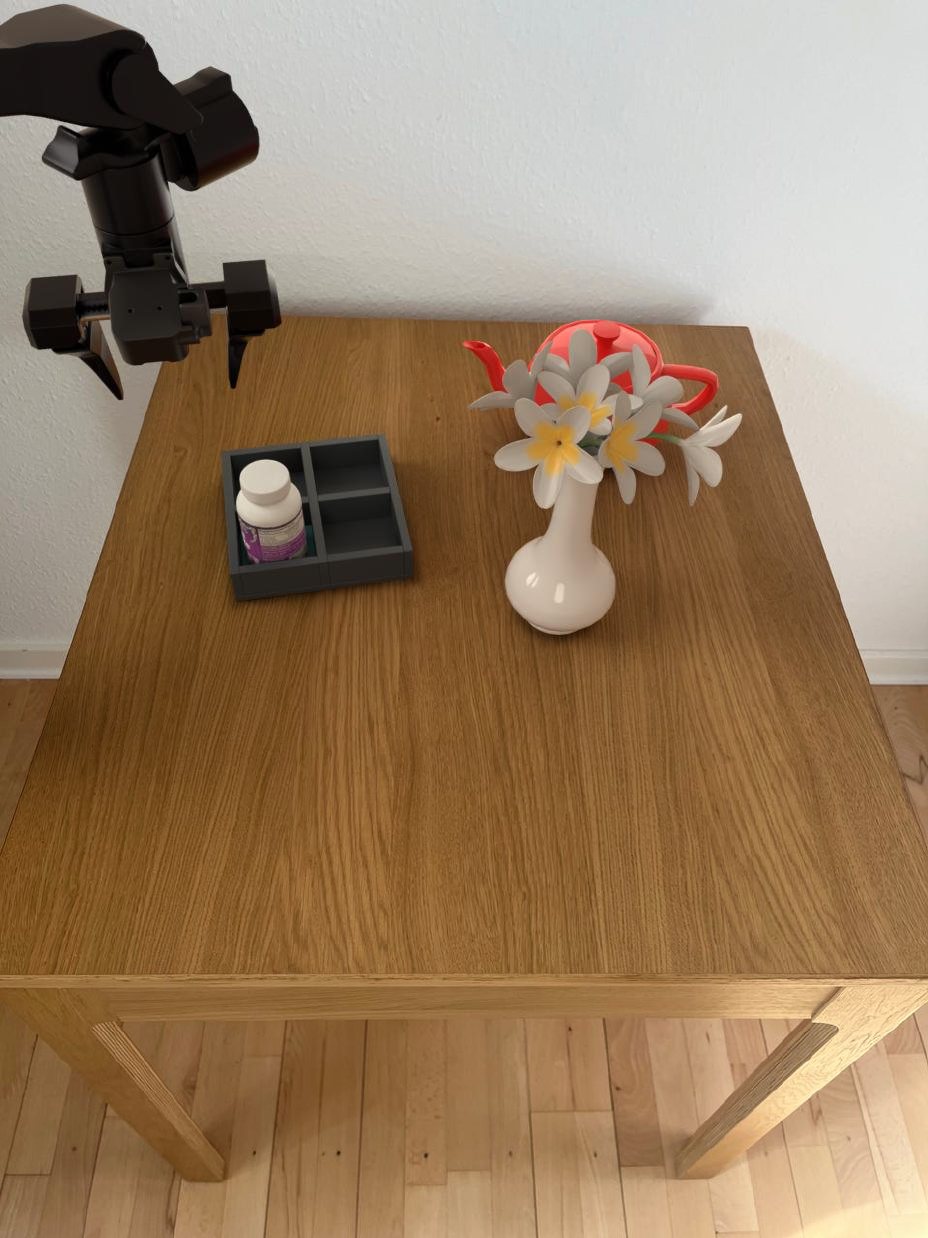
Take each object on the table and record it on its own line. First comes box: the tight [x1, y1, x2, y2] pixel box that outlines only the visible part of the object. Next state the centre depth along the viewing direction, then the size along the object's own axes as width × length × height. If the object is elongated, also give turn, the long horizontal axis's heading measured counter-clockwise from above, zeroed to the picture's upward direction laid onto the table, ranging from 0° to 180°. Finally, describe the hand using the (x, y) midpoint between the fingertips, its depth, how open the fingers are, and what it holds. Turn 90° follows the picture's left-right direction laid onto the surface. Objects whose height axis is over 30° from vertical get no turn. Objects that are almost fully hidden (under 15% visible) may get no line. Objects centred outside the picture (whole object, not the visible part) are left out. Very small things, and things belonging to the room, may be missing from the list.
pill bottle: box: [236, 460, 308, 565], centre depth 79 cm, size 5×5×10 cm
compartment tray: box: [220, 433, 414, 602], centre depth 85 cm, size 15×15×4 cm
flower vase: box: [467, 329, 743, 636], centre depth 72 cm, size 13×18×25 cm
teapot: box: [461, 319, 720, 448], centre depth 92 cm, size 25×16×12 cm, turn 86°
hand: (177, 391), depth 79 cm, fingers open, 9 cm apart
